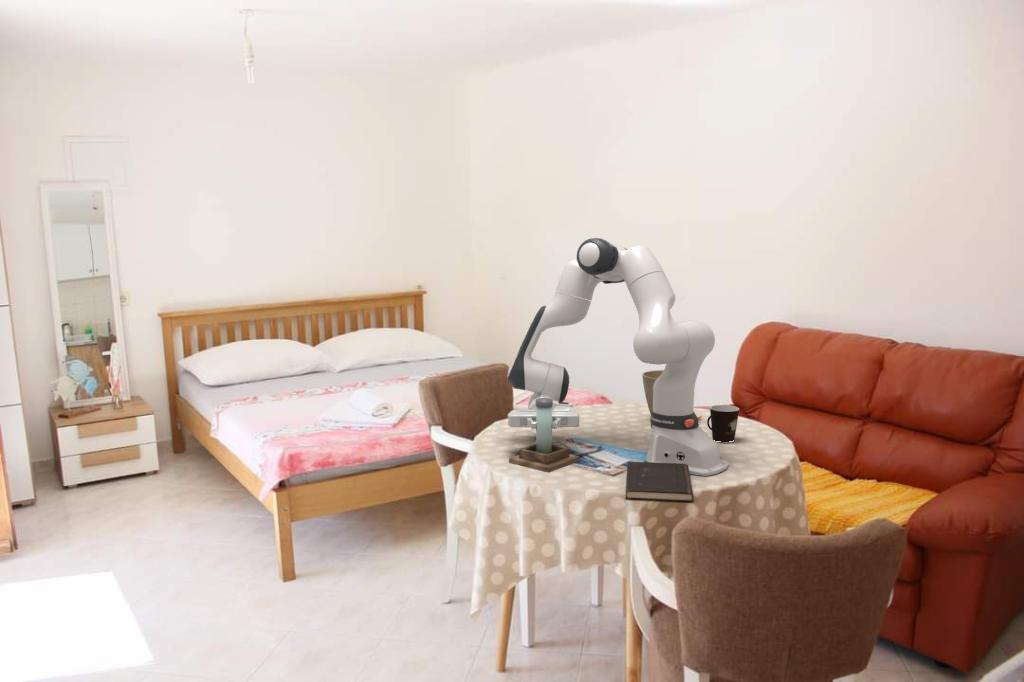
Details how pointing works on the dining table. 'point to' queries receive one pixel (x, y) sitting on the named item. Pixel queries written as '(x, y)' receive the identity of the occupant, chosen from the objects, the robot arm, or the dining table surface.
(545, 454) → the walnut rack
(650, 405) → the plant pot
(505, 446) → the dining table surface
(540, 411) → the capped tube
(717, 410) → the coffee mug
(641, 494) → the hardcover book
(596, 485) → the dining table surface
